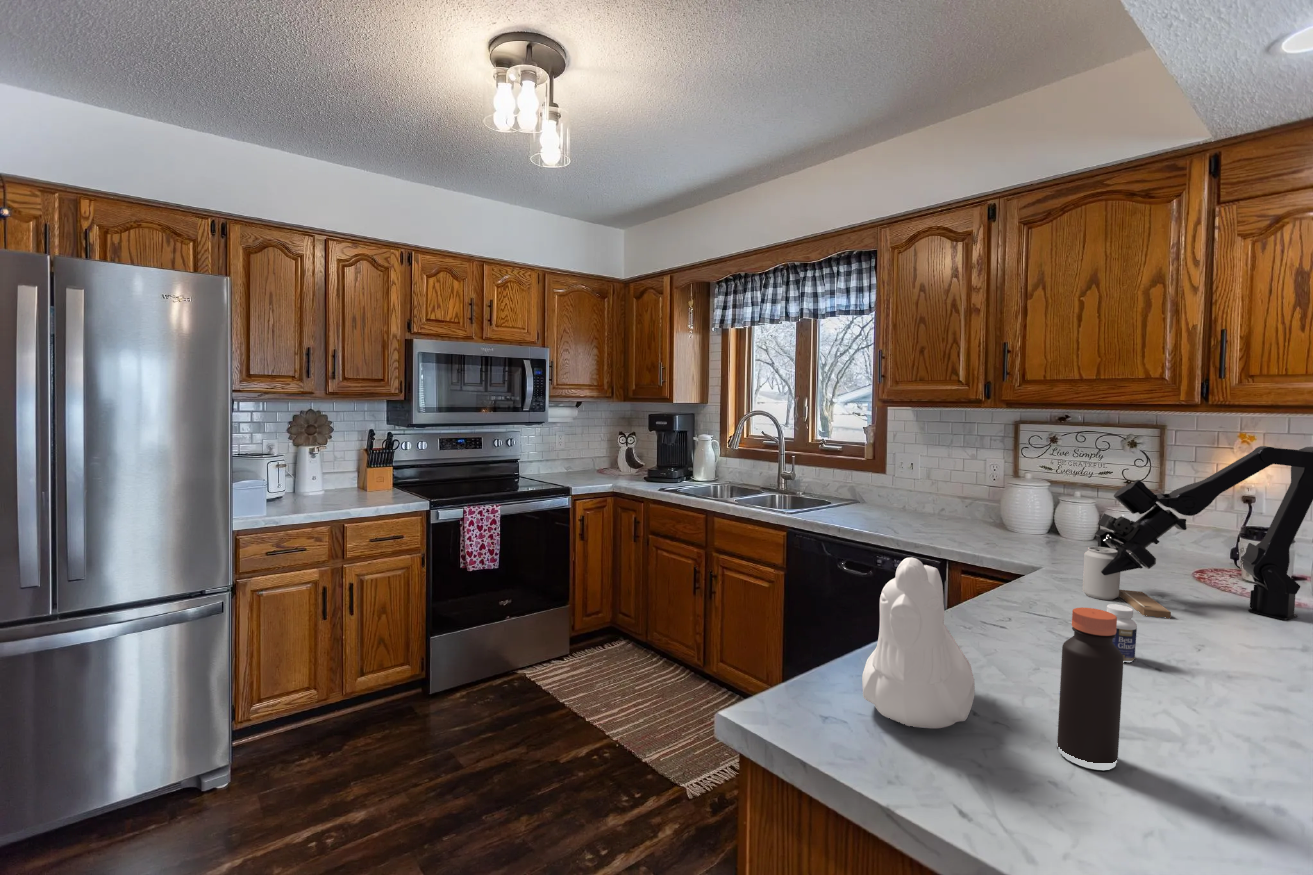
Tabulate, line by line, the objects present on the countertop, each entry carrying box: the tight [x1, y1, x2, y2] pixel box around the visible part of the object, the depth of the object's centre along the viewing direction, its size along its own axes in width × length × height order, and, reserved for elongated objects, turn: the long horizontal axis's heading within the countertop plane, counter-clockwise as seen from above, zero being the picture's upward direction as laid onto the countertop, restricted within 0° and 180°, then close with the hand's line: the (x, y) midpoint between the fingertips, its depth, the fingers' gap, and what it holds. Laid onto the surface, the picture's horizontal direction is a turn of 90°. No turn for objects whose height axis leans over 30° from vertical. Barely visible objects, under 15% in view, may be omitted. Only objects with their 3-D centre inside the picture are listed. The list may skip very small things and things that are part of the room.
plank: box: [1118, 589, 1172, 619], centre depth 150 cm, size 16×5×2 cm, turn 161°
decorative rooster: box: [861, 557, 976, 729], centre depth 98 cm, size 25×16×25 cm, turn 135°
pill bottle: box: [1106, 603, 1138, 661], centre depth 119 cm, size 5×5×10 cm
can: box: [1082, 546, 1121, 601], centre depth 157 cm, size 8×8×12 cm
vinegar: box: [1056, 607, 1124, 763], centre depth 85 cm, size 7×7×20 cm
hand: (1095, 569), depth 157 cm, fingers closed on can, 7 cm apart
